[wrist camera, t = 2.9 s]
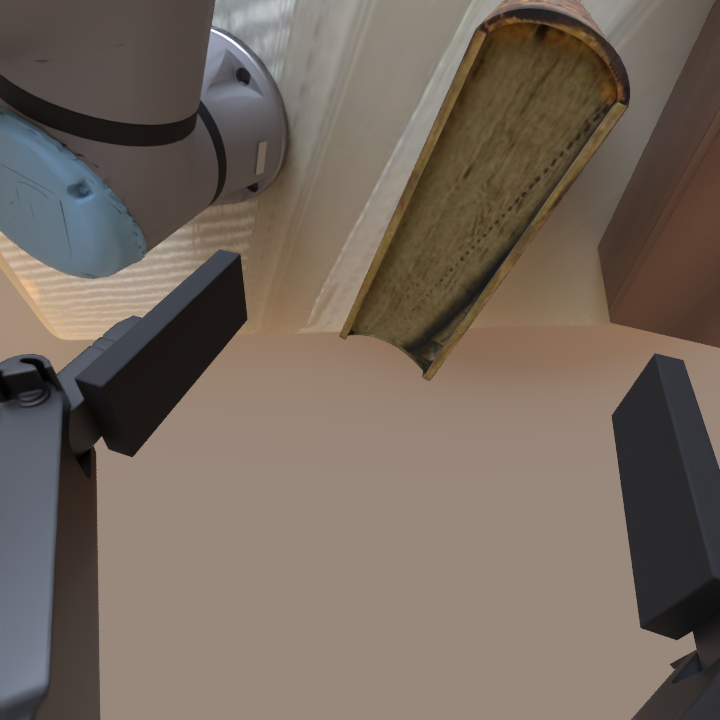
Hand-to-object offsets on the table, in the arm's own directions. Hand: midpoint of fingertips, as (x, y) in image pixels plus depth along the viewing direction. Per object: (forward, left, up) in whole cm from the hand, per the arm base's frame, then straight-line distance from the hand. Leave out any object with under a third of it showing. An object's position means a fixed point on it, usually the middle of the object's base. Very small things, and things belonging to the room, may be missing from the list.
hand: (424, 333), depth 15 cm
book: (0, 0, -31) cm, 31 cm away
